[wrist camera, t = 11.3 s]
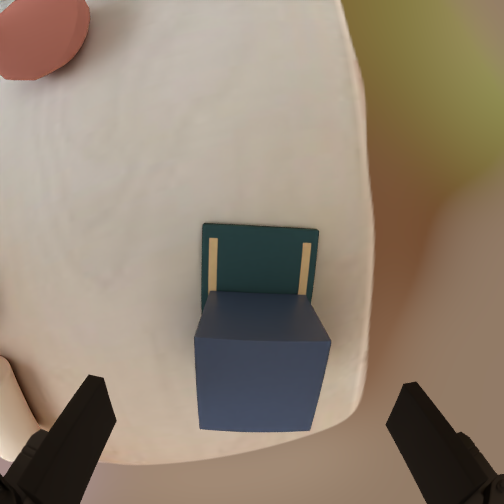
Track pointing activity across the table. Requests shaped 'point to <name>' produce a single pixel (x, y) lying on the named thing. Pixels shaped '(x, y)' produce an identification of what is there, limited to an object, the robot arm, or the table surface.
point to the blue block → (259, 362)
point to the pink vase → (40, 36)
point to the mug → (13, 415)
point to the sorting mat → (258, 259)
